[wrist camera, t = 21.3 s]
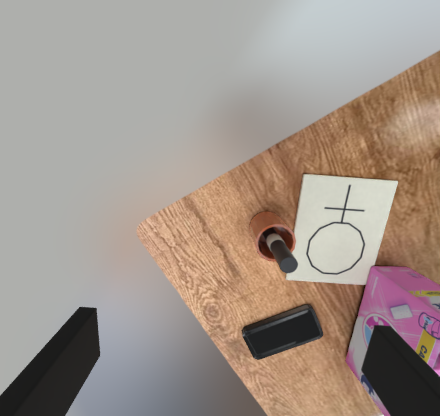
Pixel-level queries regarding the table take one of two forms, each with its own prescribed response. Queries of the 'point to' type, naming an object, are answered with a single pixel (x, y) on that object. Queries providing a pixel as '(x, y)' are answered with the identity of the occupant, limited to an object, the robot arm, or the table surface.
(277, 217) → the pen cup
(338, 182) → the notepad
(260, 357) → the phone
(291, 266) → the marker
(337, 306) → the table surface
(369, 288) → the gum box
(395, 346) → the robot arm
